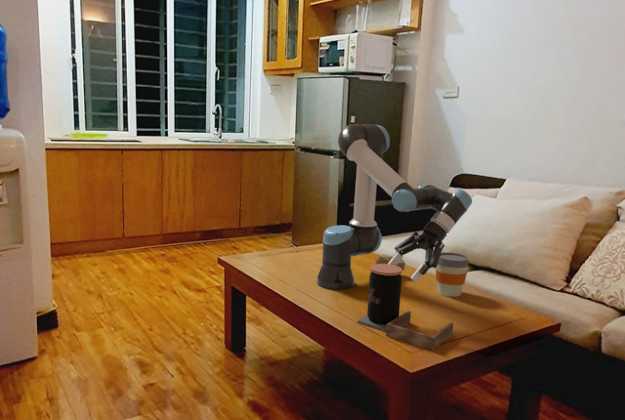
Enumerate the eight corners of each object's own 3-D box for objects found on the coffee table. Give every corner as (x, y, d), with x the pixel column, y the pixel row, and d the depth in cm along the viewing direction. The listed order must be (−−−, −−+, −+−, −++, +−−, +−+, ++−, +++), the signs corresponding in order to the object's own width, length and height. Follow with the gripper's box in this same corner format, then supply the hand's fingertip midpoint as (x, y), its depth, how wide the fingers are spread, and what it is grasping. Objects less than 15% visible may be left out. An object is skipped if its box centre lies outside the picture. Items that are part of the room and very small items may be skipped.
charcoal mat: (357, 322, 178) (357, 320, 178) (376, 311, 189) (376, 309, 189) (389, 332, 171) (389, 330, 171) (407, 320, 182) (407, 318, 182)
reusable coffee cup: (464, 300, 204) (467, 262, 202) (431, 295, 209) (434, 258, 206) (466, 290, 216) (470, 254, 213) (435, 285, 220) (438, 250, 217)
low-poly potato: (373, 281, 224) (397, 273, 218) (366, 256, 227) (390, 248, 222) (387, 282, 236) (411, 274, 231) (381, 259, 240) (404, 251, 234)
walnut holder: (386, 335, 169) (386, 324, 168) (407, 322, 181) (408, 310, 180) (433, 350, 160) (434, 338, 159) (452, 335, 171) (453, 323, 171)
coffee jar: (364, 313, 185) (367, 263, 182) (394, 313, 186) (398, 263, 183) (370, 325, 174) (373, 272, 171) (402, 325, 175) (406, 273, 172)
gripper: (469, 243, 174) (430, 292, 170) (420, 226, 195) (384, 270, 191) (458, 228, 170) (418, 279, 166) (410, 213, 192) (373, 257, 188)
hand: (400, 274), depth 179 cm, fingers open, 13 cm apart
